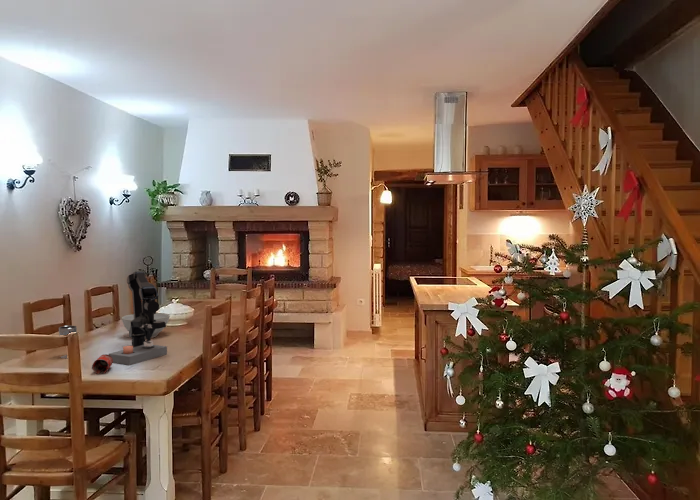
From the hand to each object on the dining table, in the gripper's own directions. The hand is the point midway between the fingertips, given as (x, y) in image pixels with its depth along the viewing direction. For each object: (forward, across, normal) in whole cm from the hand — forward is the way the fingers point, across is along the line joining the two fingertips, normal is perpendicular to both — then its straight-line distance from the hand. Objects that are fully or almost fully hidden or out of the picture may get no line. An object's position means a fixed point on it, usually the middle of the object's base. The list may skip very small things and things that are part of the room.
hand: (148, 340), depth 272 cm
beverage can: (+8, +4, -31) cm, 32 cm away
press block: (+7, 0, -6) cm, 10 cm away
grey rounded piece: (+4, 0, 0) cm, 4 cm away
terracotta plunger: (+4, 0, -13) cm, 14 cm away
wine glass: (+8, -34, -20) cm, 40 cm away
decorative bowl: (+8, -37, +34) cm, 51 cm away
